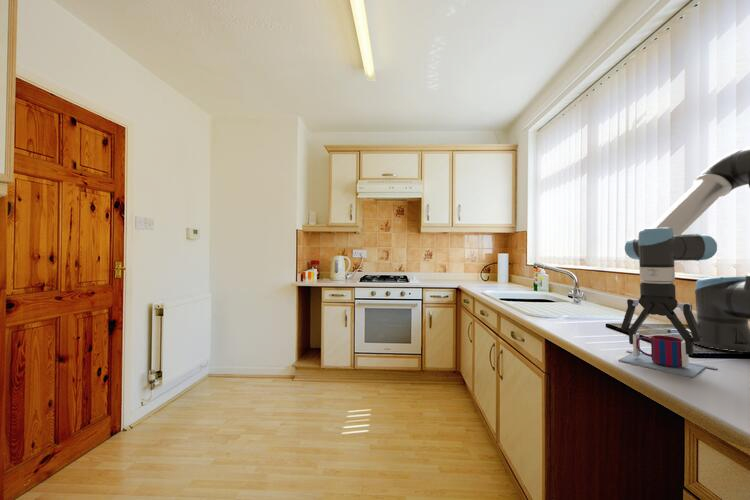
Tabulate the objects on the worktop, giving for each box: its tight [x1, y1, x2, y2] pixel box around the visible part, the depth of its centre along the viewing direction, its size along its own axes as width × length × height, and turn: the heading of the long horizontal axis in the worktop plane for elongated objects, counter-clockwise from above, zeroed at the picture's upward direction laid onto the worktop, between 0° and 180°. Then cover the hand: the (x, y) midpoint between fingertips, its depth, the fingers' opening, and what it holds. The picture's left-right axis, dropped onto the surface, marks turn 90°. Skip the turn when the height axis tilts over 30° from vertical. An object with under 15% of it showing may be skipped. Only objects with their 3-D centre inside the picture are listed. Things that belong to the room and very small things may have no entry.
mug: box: [636, 334, 684, 367], centre depth 91 cm, size 7×10×7 cm
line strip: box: [625, 349, 719, 371], centre depth 94 cm, size 2×20×1 cm, turn 33°
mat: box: [617, 353, 706, 379], centre depth 90 cm, size 11×16×1 cm
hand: (659, 360), depth 90 cm, fingers closed on mug, 10 cm apart
